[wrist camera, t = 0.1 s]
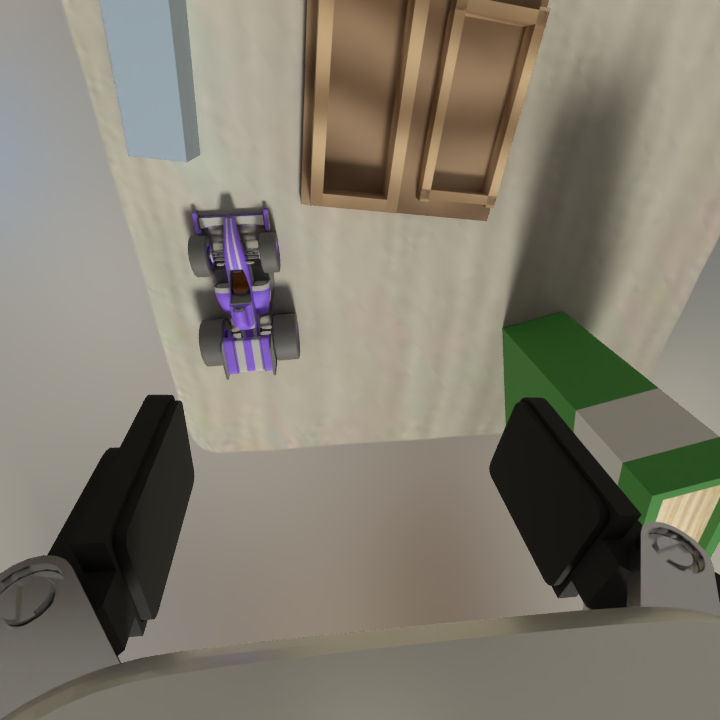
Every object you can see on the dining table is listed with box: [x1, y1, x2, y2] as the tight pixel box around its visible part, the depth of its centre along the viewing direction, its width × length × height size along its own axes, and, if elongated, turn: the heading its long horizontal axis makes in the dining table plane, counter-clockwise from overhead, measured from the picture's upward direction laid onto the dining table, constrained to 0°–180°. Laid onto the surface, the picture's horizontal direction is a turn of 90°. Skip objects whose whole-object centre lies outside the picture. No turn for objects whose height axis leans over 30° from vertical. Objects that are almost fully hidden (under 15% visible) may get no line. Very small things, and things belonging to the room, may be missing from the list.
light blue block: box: [100, 0, 200, 162], centre depth 28 cm, size 10×4×5 cm, turn 173°
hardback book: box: [502, 312, 720, 558], centre depth 42 cm, size 18×7×24 cm, turn 14°
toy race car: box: [188, 208, 300, 379], centre depth 37 cm, size 10×15×6 cm, turn 1°
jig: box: [301, 0, 550, 221], centre depth 31 cm, size 17×18×4 cm
